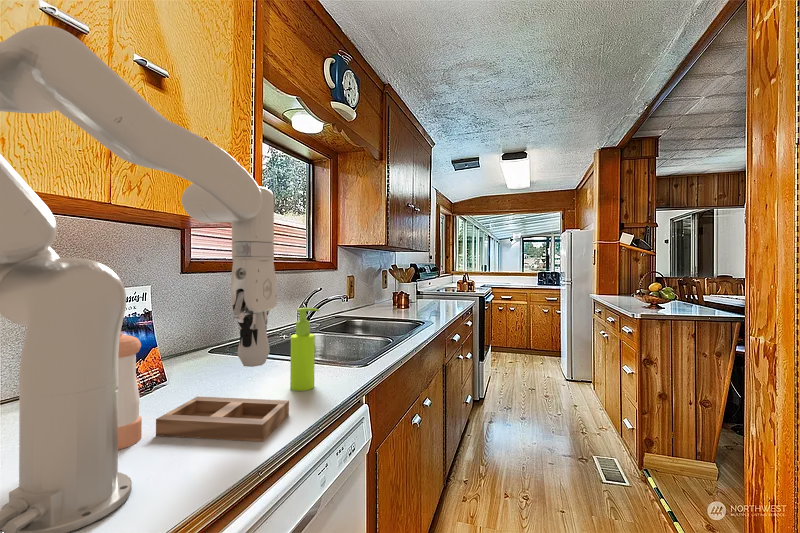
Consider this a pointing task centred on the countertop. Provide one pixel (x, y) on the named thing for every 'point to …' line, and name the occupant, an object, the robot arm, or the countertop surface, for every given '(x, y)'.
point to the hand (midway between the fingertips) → (253, 347)
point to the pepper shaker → (128, 392)
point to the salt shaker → (255, 353)
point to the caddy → (224, 419)
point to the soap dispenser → (302, 354)
